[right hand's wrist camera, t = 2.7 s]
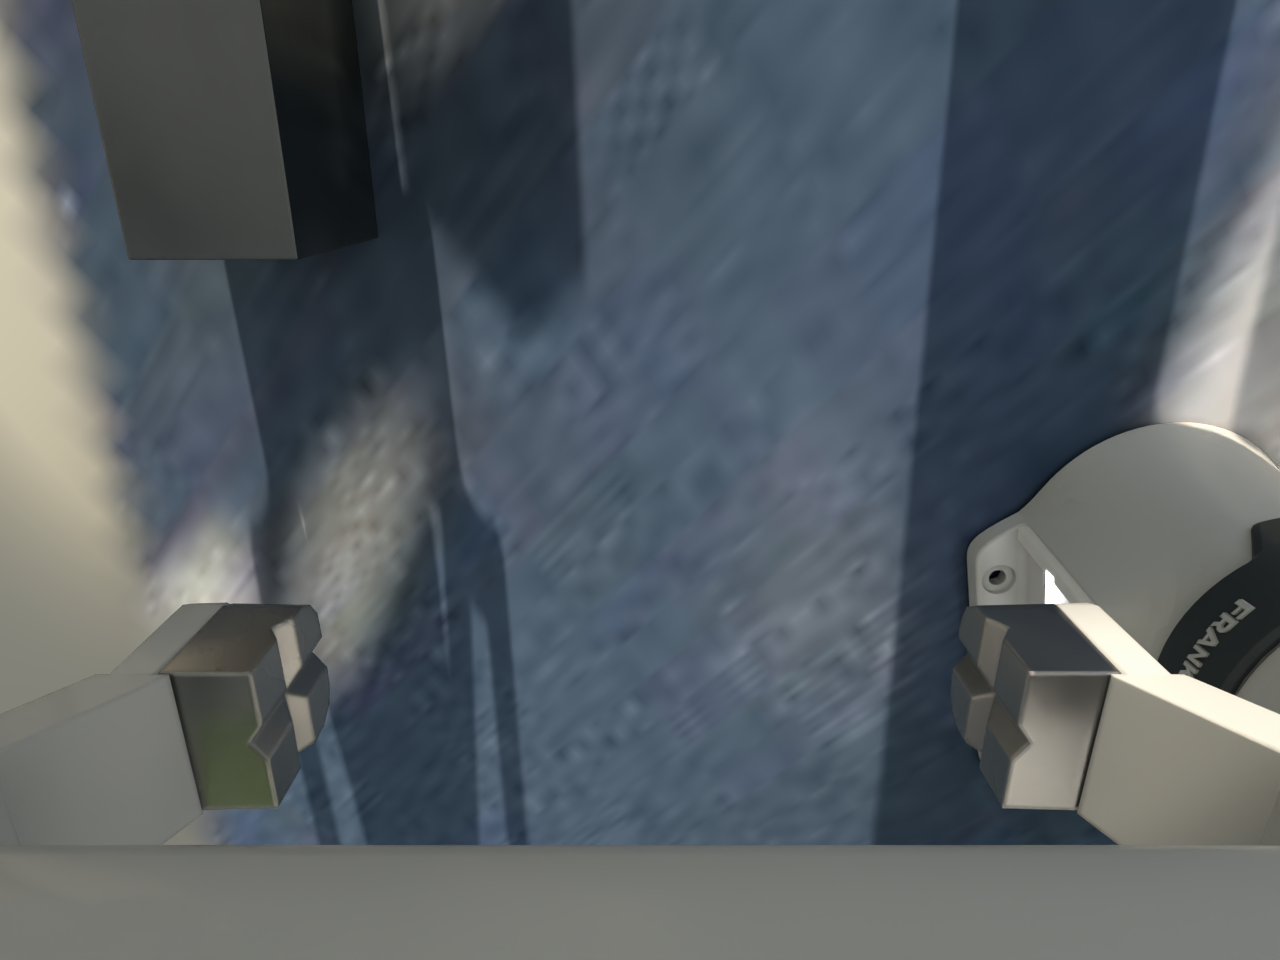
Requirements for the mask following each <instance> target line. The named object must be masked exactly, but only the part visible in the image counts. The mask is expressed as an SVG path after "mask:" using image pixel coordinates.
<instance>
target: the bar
mask: <svg viewBox="0 0 1280 960" xmlns="http://www.w3.org/2000/svg"><path fill="white" fill-rule="evenodd" d="M72 4H73V8H74V13H75V17H76V22H77V27H78V31H79V36H80V40H81V45H82V49H83V54H84V59H85V63H86V68H87V72H88V77H89V81H90V86H91V91H92V95H93V100H94V104H95V109H96V113H97V118H98V122H99V127H100V132H101V136H102V141H103V145H104V150H105V154H106V159H107V164H108V168H109V173H110V177H111V182H112V186H113V191H114V196H115V200H116V205H117V209H118V214H119V218H120V223H121V228H122V232H123V237H124V241H125V246H126V250H127V255H128V258H129V259H131V260H297V259H301V258H305V257H309V256H312V255H316V254H320V253H323V252H327V251H331V250H334V249H338V248H342V247H345V246H349V245H353V244H356V243H360V242H364V241H367V240H371V239H375V238H377V237H378V234H377V225H376V216H375V207H374V198H373V189H372V180H371V171H370V162H369V153H368V143H367V134H366V125H365V116H364V107H363V98H362V89H361V80H360V71H359V62H358V53H357V44H356V35H355V26H354V17H353V8H352V0H72Z"/></svg>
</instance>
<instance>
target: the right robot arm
mask: <svg viewBox="0 0 1280 960" xmlns="http://www.w3.org/2000/svg"><path fill="white" fill-rule="evenodd" d="M996 570H1000V573H999V574H998V576H996V577H995V578H991V579H990V578H989V576H990V574H991V573H992V572H994V571H996ZM967 573H968V591H969V607H966V609H965V612H964V614H963V616H962V618H961V623H960V628H959V634H958V637H959V639H960V640H961V642H962V643H963V645H964V646H965V648H966V649H967V651H968V652H967V653H966V654H965V655H964V656H963V657H962V658H961V659H960V660H959V662H958V663H957V664H956V665H955V666H954V667H953V672H952V680H951V688H950V694H951V705H952V713H953V716H954V720H955V723H956V726H957V729H958V731H959V732H960V734H961V736H962V738H963V740H964V742H965V743H967V744H968V745H970V746H972V747H973V748H975V749H976V750H978V755H979V759H980V766H979V768H980V770H981V772H982V774H983V775H984V777H985V779H986V781H987V782H988V784H989V786H990V787H991V789H992V791H993V793H994V794H995V796H996V798H997V800H998V801H999V803H1000V805H1001V807H1002V808H1015V809H1052V810H1078V811H1077V814H1078V815H1080V816H1081V817H1082V818H1084V819H1085V820H1086V821H1088V822H1089V823H1090V824H1092V825H1093V826H1094V827H1096V828H1097V829H1098V830H1099V831H1101V832H1102V833H1103V834H1105V835H1106V836H1107V837H1109V838H1110V839H1111V840H1113V841H1114V842H1115V843H1117V844H1118V845H162V844H164V843H165V842H166V841H168V840H169V839H170V838H172V837H173V836H174V835H176V834H177V833H178V832H179V831H181V830H182V829H183V828H185V827H186V826H187V825H189V824H190V823H191V822H193V821H194V820H195V819H197V818H198V817H199V816H201V815H202V814H203V812H202V810H227V809H263V808H278V807H279V805H280V803H281V801H282V800H283V798H284V796H285V794H286V793H287V791H288V789H289V788H290V786H291V784H292V782H293V781H294V779H295V777H296V775H297V774H298V772H299V770H300V768H301V766H300V760H299V754H298V753H299V752H301V751H302V750H304V749H305V748H307V747H308V746H310V745H312V744H313V743H315V742H316V740H317V738H318V736H319V734H320V732H321V730H322V729H323V727H324V723H325V719H326V715H327V711H328V706H329V678H328V671H327V667H326V666H325V665H324V664H323V663H322V662H321V660H320V659H319V658H318V657H317V656H316V655H315V654H314V653H313V652H312V651H313V649H314V648H315V646H316V645H317V643H318V642H319V640H320V639H321V637H322V634H321V629H320V624H319V620H318V615H317V612H316V611H315V610H314V609H313V608H312V607H311V606H310V605H284V604H229V603H196V604H186V605H182V606H181V607H180V608H179V609H178V610H177V611H176V612H175V613H174V614H173V615H172V616H170V617H169V618H168V619H167V620H166V621H165V622H164V623H163V624H162V625H161V626H160V627H159V628H158V629H157V630H156V631H155V632H154V633H152V634H151V635H150V636H149V637H148V638H147V639H146V640H145V641H144V642H143V643H142V644H141V645H140V646H139V647H138V648H137V649H135V650H134V651H133V652H132V653H131V654H130V655H129V656H128V657H127V658H126V659H125V660H124V661H123V662H122V663H121V664H120V665H119V666H117V667H116V668H115V669H114V670H113V671H112V672H111V673H110V674H96V675H93V676H91V677H88V678H86V679H83V680H81V681H79V682H76V683H74V684H71V685H69V686H67V687H64V688H62V689H59V690H57V691H55V692H52V693H50V694H48V695H45V696H43V697H40V698H38V699H36V700H33V701H31V702H28V703H26V704H23V705H21V706H19V707H16V708H14V709H11V710H9V711H7V712H4V713H2V714H0V960H1280V470H1279V469H1278V468H1277V467H1276V466H1275V465H1274V463H1273V462H1272V461H1271V460H1270V459H1269V457H1268V456H1267V455H1266V454H1265V453H1264V452H1263V451H1262V450H1261V449H1259V448H1258V447H1257V446H1256V445H1255V444H1253V443H1252V442H1250V441H1249V440H1247V439H1245V438H1244V437H1242V436H1240V435H1238V434H1236V433H1234V432H1232V431H1229V430H1226V429H1223V428H1220V427H1216V426H1212V425H1207V424H1201V423H1191V422H1172V423H1162V424H1155V425H1149V426H1145V427H1141V428H1137V429H1133V430H1130V431H1127V432H1124V433H1121V434H1119V435H1116V436H1114V437H1111V438H1109V439H1107V440H1105V441H1103V442H1101V443H1099V444H1097V445H1095V446H1093V447H1092V448H1090V449H1088V450H1086V451H1085V452H1083V453H1082V454H1080V455H1079V456H1077V457H1076V458H1075V459H1073V460H1072V461H1071V462H1069V463H1068V464H1067V465H1065V466H1064V467H1063V468H1062V469H1061V470H1060V471H1059V472H1057V473H1056V474H1055V475H1054V476H1053V477H1052V478H1051V479H1050V480H1049V481H1048V482H1047V483H1046V485H1045V486H1044V487H1043V488H1042V489H1041V490H1040V491H1039V492H1038V493H1037V494H1036V496H1035V497H1034V498H1033V499H1032V500H1031V501H1030V502H1029V503H1028V504H1027V505H1026V506H1025V507H1023V508H1022V509H1021V510H1020V511H1019V512H1017V513H1015V514H1013V515H1011V516H1009V517H1007V518H1005V519H1004V520H1002V521H1000V522H998V523H996V524H994V525H993V526H991V527H989V528H988V529H986V530H985V531H983V532H982V533H980V534H979V535H978V536H977V537H976V538H975V539H974V540H973V541H972V542H971V544H970V545H969V547H968V551H967Z"/></svg>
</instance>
